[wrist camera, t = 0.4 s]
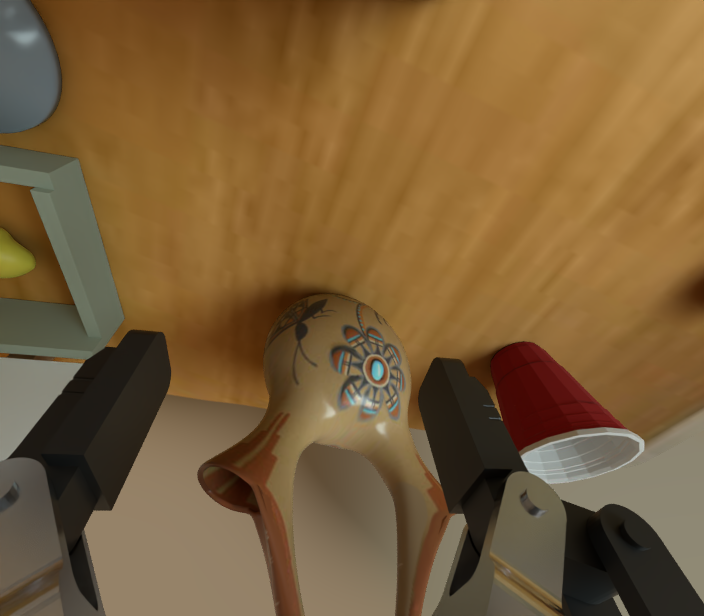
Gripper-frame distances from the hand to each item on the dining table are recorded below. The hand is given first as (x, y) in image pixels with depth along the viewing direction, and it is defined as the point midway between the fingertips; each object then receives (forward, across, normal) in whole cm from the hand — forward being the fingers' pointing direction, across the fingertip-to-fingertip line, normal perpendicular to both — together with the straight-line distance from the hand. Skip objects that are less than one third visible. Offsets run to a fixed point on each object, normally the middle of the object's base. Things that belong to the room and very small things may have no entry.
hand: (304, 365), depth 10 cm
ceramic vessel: (+18, -4, +11) cm, 22 cm away
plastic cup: (+18, -24, +15) cm, 34 cm away
